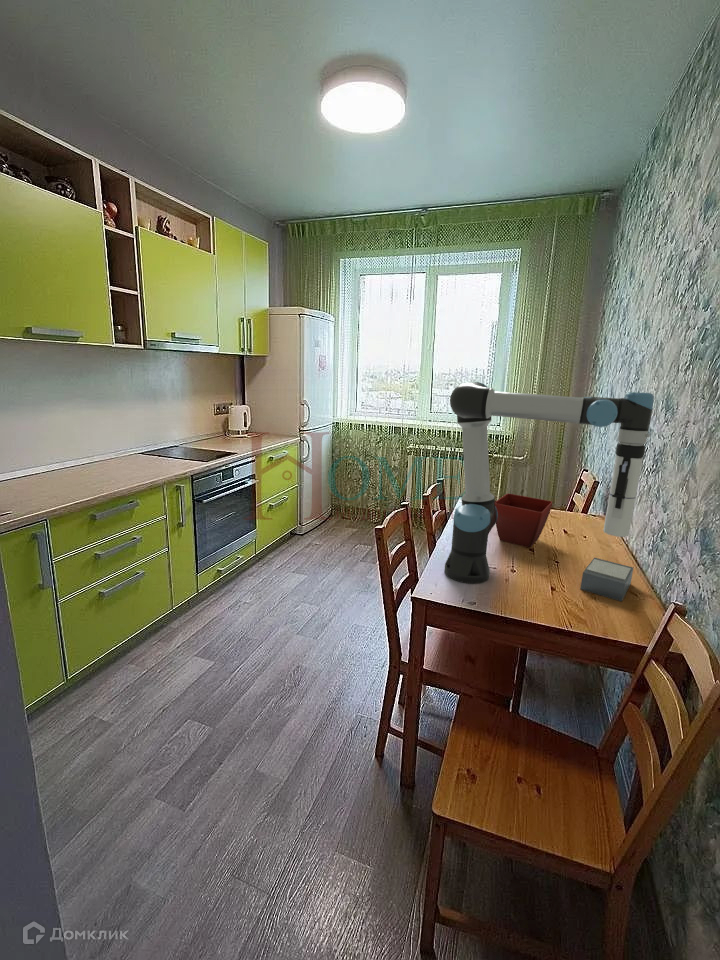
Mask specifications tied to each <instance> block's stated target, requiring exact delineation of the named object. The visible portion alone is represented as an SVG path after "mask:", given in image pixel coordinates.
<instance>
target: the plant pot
mask: <svg viewBox="0 0 720 960" xmlns="http://www.w3.org/2000/svg"><path fill="white" fill-rule="evenodd" d="M495 506H496V509H497V513H498V516H497V520H496V523H495V527H496V531H497V536H498V539H499V541H501V542H502V543H503V542H504V543H508V544H512V545H516V546H519V547H520V546H521V547H524V548H532V547H533V545H535V543H536V542H537V541H538V540H539V539H540V538H539V537H540V536H541V534H542V532H543V530H544V527H545V526H546V524H547V520H548V517H549V515H550V513H551V509H552V506H553V501H551V500H547V499H542V498H535V497H530V496H525V495H519V494H514V493H506V494H504V495H502V496H501V497H500V498H498V499H497V500H495Z"/></svg>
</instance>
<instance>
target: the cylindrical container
mask: <svg viewBox="0 0 720 960" xmlns="http://www.w3.org/2000/svg"><path fill="white" fill-rule="evenodd" d="M623 459H624V458H623V457H622V456H618V455H616V454H615V460H614V466H613V472H612V478H611V483H610V490H609V494H608V495H609V496H608V501H607V508H606V512H605V519H604V525H603V533H605V534H607V535H610V536H613V537H618V538H619V537H620V538H626V537H627V538H628V537H629V535H630V529H631V524H632V518H633V513H634V507H635V503H636V497H637V493H638V492H637V491H638V487H639V482H640V481H639V480H640V475H641V470H642V463H643V460H644V457H642V458H631V464H630V469H629V473H628V478H627V479H628V483H627V489H626V493H625V502H624V508H623V514H622V519H618V518H613V517H612V511H613V505H614V499H615V497H612V495H614V494H615V489H616V484H617V479H618V473H619V466H620V465H622V461H623ZM625 462H627V461H625ZM620 494H621V493H620Z"/></svg>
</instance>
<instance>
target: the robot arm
mask: <svg viewBox="0 0 720 960" xmlns="http://www.w3.org/2000/svg"><path fill="white" fill-rule="evenodd" d="M449 397H450V398H449V405H450V408H451V410H452V412H453V413H454V414H455V415H456V418H457V419H456V421H457V425H458V426H459V427H461V431H462V433H461V434H462V449H463V450H462V452H463V472H464V489H465V493H464V494H463V495H462V496H461V505H459V506H458V507H456V509H455V510H454V514H453V524H452V525H453V526H452V535H451V536H452V537H451V550H450V553H449V555H448V556H447V559H446V561H445V564H444V569H443V570H444V571H443V572H444V574H445V576H447V577H448V578H450V579H451V580H454V581H457V582H461V583H466V584H480V583H485V582H487V581H488V580H489V579H490V566H489V561H488V557H487V549H488V540H489V535H490V533H491V532H492V529H493V528H494V526H496V520H497V516H498V513H497V509H496V506H495V501H496V500H495V498H496V497H495V495H494V494H493V493H491V485H490V483H491V482H490V481H491V480H490V460H489V458H490V457H489V438H488V436H489V435H488V425H489V424H490V423H491V422H492V417H502V418H515V419H525V420H534V421H535V420H537V421H546V422H547V421H548V422H557V423H570V424H581V425H589V426H590V425H591V426H594V427H596V428H604V427H607V426H609V425H612V423H614V424H620V426H619V430H618V434H617V435H618V436H617V442H618V443H617V444H616V449H615V456H616V455H618V456H622V457H623V458H624V459H623V461H622V465H620V466H619V473H618V479H617V484H616V489H615V494H614V495H612V497H615V499H614V505H613V511H612V517H613V518H618V519H622V514H623V508H624V502H625V493H626V489H627V483H628V479H627V478H628V473H629V469H630V464H631V458H642V457H643V458H644V456H645V453H646V452H645V451H646V445H645V444H647V440H648V439H647V438H650V437H651V435H650V434H649V429H650V425H651V419H652V416H653V415H652V414H653V410H654V408H653V407H654V401H655V400H654V398H655V396H654V394H653V393H650V392H639V391H638V392H637V391H636V392H635V391H634V392H633V391H628V392H626V393H625V395H624V397H622V398H620V397H619V398H616V397H601V396H584V397H583V396H582V397H579V396H578V397H577V396H564V395H549V394H539V393H538V394H537V393H536V394H535V393H525V392H524V393H521V392H512V391H511V392H509V391H508V392H507V391H495V389H494V388H493V387H488V386H487V385H486V384H484V383H481V382H477V381H472V382H465V383H461V384H459V385H457V386H456V387H455V388H454V389H453V391H452V392H451V394H450V396H449ZM625 461H627V462H625ZM620 493H621V494H620Z"/></svg>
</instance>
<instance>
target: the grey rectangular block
mask: <svg viewBox="0 0 720 960" xmlns="http://www.w3.org/2000/svg"><path fill="white" fill-rule="evenodd" d="M633 573H634V566H629V565H624V564H622V563H621V564H620V563H618V562H614V561H608V560H605V559H601V558H598V557H593V559H592V560H591V561H590V562H589V564H588V565H587V566H586V568H585V569H584V571H583V572H582V576H581V582H580V587H579V588H580V590H581V591H585V592H589V593H590V594H591V593H592V594H595V595H599V596H601V597H605V598H609V599H612V600H615V601H619V602H620V603H621V602H622V603H623V600H624V598H625V596H626V594H627V593H628V590H629V588H630V586H631V583H632V579H633Z"/></svg>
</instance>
